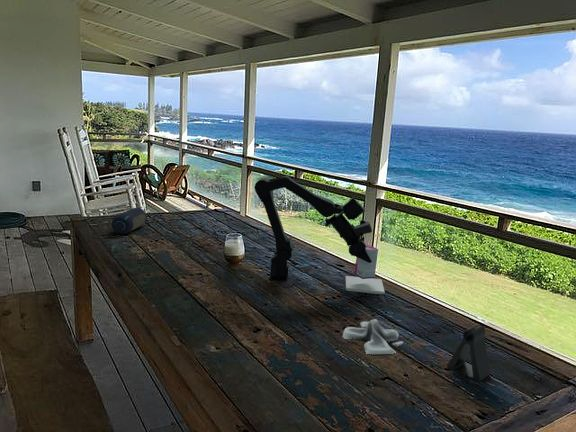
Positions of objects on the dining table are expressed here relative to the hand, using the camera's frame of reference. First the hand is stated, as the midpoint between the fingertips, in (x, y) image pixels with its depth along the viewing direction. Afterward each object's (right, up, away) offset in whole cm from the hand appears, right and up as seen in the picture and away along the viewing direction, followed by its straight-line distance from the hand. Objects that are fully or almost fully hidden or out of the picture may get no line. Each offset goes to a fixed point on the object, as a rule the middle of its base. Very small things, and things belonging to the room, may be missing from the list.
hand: (370, 259), depth 177 cm
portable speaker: (-111, +9, +61) cm, 127 cm away
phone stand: (+16, -24, -56) cm, 63 cm away
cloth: (-5, -20, -40) cm, 45 cm away
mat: (-2, -10, +2) cm, 11 cm away
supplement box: (-2, -7, +2) cm, 7 cm away
